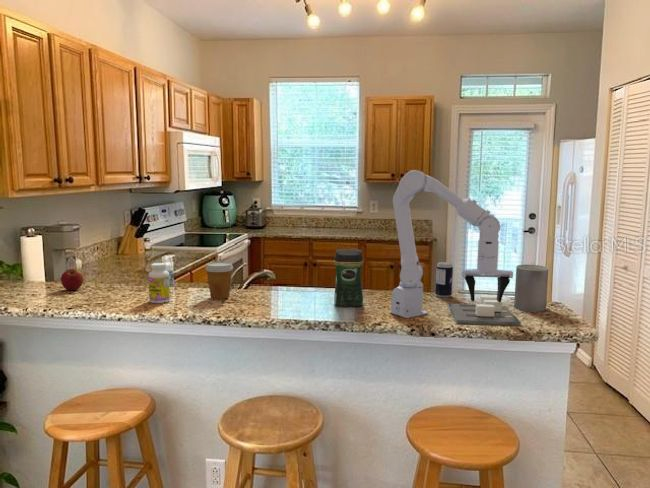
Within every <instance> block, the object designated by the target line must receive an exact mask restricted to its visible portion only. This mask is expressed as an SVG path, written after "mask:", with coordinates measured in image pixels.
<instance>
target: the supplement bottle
mask: <svg viewBox="0 0 650 488" xmlns="http://www.w3.org/2000/svg"><path fill="white" fill-rule="evenodd" d="M150 266H151V271H149V272H148V293H149V294H148V295H149V296H148V297H149V302H150V303H151V304H152V303H153V304H165V303H168V302H169V301H170V300H171V289H170V288H171V286H170V285H171V283H170V273H169V271H168V270H166V268H167V263H166V262H154V263H151V265H150ZM164 302H165V303H164Z"/></svg>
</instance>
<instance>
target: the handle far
mask: <svg viewBox="0 0 650 488" xmlns="http://www.w3.org/2000/svg"><path fill="white" fill-rule="evenodd" d="M484 300H497V295H483V294H482V295H479V304H484Z"/></svg>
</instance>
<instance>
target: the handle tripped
mask: <svg viewBox="0 0 650 488" xmlns="http://www.w3.org/2000/svg"><path fill="white" fill-rule="evenodd" d="M475 305H476V311H475V314H476V316H488V317H494V311H495V307H494V306H493V305H483V304H480V303H479V304H478V303H477V304H476V303H475Z"/></svg>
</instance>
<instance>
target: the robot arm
mask: <svg viewBox="0 0 650 488" xmlns="http://www.w3.org/2000/svg"><path fill="white" fill-rule="evenodd" d="M422 190H423V192H428V193H434V194H435V195H437V196H438V197H439V198H441V199H442V200H444V201H445V202H447V203H448V204H450V205H451V206H453V207H454V208H455V209H456V214H457V215H458V216H459V217H460V218H462V220H465V221H466V222H467V223H469V224H470V225H471V226H473V227H476V228H478V230H479V236H478V240H477V260H476V261H477V262H476V263H477V264H476V268H474V269H473V268H472V269H471V268H470V269H461V270H460V271H461V273H460V276H461V277H462V278H464V281H465V282H466V284H467V288H468V292H469V294H470V295H469V296H470V301H471V302H475V299H476V298H475V288H476V280H475V278H497V294H496V297H497V301H498V302H502V299H503V295H504V293H505V291H506V289H507V287H508V286H509V284H510V282H511V279H513V278H514V271H513V270H504V269H498V265H499V264H498V263H499V261H498V260H499V259H498V258H499V243H500V242H499V238H500V237H499V233H500V230H501V229H502V228H501V224H500V221H499V219H498V218H497V217H496V216H495V215H494V214H491V211H490V210H488V209H487V210H485V209H484V208H483V207H481V206H480V205H479V204H477V202H478V201H477V200H475V199H471V198H465V199H463V198H462V197H460V196H459V195H458V194H456V193H454V192H453V191H452V190H451V189H450V188H448V187H447V186H446V185H444V184H443V183H442V182H441V181H439V180H438V179H436V178H434V177H432V176H430V175H428V174H426V173H425V172H423V171H421V170H418V169H411V170H409V171H408V172H406V173H405V174H404V175H403V176H402V177H401V178H400V181H399V183H398V186H397V188H396V190H395V193H394V194H393V197H392V204H393V205H392V206H393V211H394V217H395V218H394V219H395V223H396V224H395V225H396V231H397V232H396V233H397V238H398V244H399V252H400V267H401V268H400V269H401V270H400V272H399V280H400V281H399V285H398V286H397V287H395V288H393V289H392V291H391V297H390V298H391V302H390V303H391V304H390V310H389V313H391V314H393V315H396V316H399V317H402V318H404V319H409V318H410V319H411V318H414V317H418V316H424V315H428V314H429V312H428V311H426V310H423V303H424V302H423V299H424V296H423V295H424V283H423V282H422V281H421V280H422V277H423V275H424V268H423V266H422V265H421V263H420V260H419V256H418V253H417V248H416V247H417V246H416V242H415V236H414V235H415V234H414V228H413V227H414V226H413V222H412V214H411V207H410V202H411V201H412V200H413V198H414V197H415V196H416V194H418V193H420V192H421V191H422Z"/></svg>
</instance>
